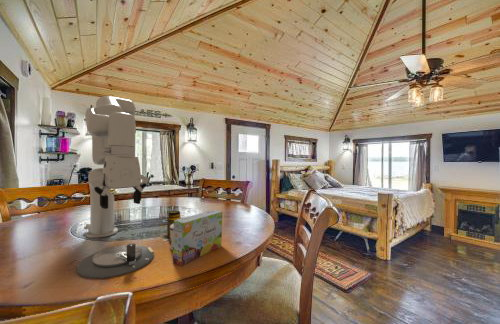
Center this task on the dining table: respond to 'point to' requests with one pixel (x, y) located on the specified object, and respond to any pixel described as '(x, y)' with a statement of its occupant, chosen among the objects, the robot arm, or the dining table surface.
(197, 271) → the dining table surface
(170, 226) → the teacup with lid
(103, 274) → the dial plate
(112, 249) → the dial
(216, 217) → the snack box
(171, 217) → the condiment
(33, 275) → the dining table surface
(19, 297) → the dining table surface
